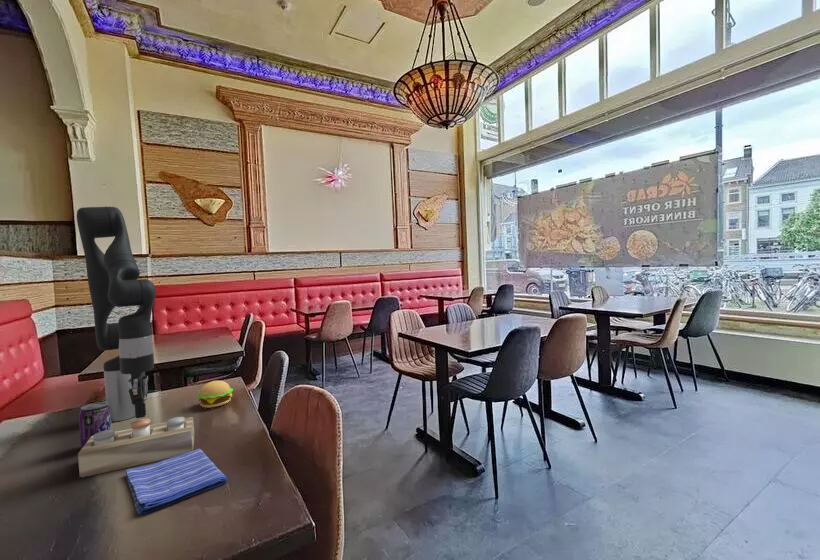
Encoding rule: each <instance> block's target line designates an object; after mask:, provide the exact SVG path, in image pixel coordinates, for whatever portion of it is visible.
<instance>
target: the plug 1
mask: <svg viewBox="0 0 820 560" xmlns="http://www.w3.org/2000/svg"><path fill="white" fill-rule="evenodd" d="M115 432H116V431H115V429H112V430H105V431H101V432H98V433H96V434H94V435H93V439H94V440H95V446H96V445H101V444H106V443H111V442H114V435H115Z"/></svg>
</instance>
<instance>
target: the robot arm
mask: <svg viewBox="0 0 820 560" xmlns="http://www.w3.org/2000/svg"><path fill="white" fill-rule="evenodd" d="M125 221H126V220H125V218H124V215H123V213H122V212H121V210H120V209H119V208H118V207H115V206H89V207H87V206H86V207H80V208H78V209H77V211H76V223H77V228H78V231H79V236H80V241H81V245H82V250H83V253H84V258H85V266H86V274H87V284H88V290H89V294H90V300H91V304H92V309H93V310H92V311H93V318H94V330H95V331H94V332H95V334H94V335H95V342H96V345H97V348H98V349H99V350H100V351H114V350H118V355H117V356H116V357H114V358H113V357H112V358H111V359H108V360H106V361H105V362H104V363H103V367H102V368H103V379H104V380H103V381H104V392H105V402H108V406H109V407H110V412H111V422H119V421H125V420H129V419H133V418H135V419H143V418H146V415H147V409H146V407H147V406H146V405H147V404H146V402H147V397H148V391H149V389H148V388H149V387H148V381H149V375H146V372H149V371H152V370H153V369H154V368H155V360H154V358H155V357H154V345H153V339H152V330H151V329H152V327H151V319H152V318H151V317H152V311H153V306H154V302H155V299H156V294H157V287H156V286H155V284H154V283H153V282H152V280H149V279H146V278H145V279H143V278H140V274H141V271H140V269H139V266H138V263H137V262H136V261H137V260H136V259H135V258H134V255H133V252H132V247H131V243H130V237H129V233H128V230H127V225H126V222H125ZM99 238H101V239H102V238H114V239H113V240H112V242H111V243H110V245H108V247H107V249H106V250H105V253H104V252H103V250H102V249H100V247H99V246H98V244H97V243H96V240H95V239H99ZM139 278H140V279H139ZM133 306H134V307H136V306H138V309H137V310H136V311H135V312H133V313H131V314H127V315H124V316H121V317H120V318H118V322H109V323H108V319H109V316H110V315H111V313H112V312H113V311H114V309H115V308H116V307H117V308H123V307H124V308H125V307H133Z"/></svg>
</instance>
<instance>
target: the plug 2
mask: <svg viewBox="0 0 820 560" xmlns="http://www.w3.org/2000/svg"><path fill="white" fill-rule="evenodd" d="M185 418H186V417H184V416H176V417H173V418H170V419H167V420H166V421H165V422H166V426H168V431H171V430H176V429H181V428H184V422H185Z"/></svg>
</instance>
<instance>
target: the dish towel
mask: <svg viewBox="0 0 820 560" xmlns="http://www.w3.org/2000/svg"><path fill="white" fill-rule="evenodd" d="M125 476H126V477H125V478H126V480H127V484H128V487H129V489H130V492H131V495H132V498H133V497H134V498H133V502H134V501H135V502H134V506H135V508H136V512H137V514H138V516H140V515H141V516H143V515H146V514H149V513H151V511H152V512H154V510H155V511H157V510H159V509H162V507H163V508H165V507H167V506H171V505H173V504H176V503H179V502H180V501H183V500H186V499H190V498H191V497H193V496H196V495H199V494H202V493H205V492H207V491H210V490H212V489H214V488H217V487H220V486H224V485H225V484H226V483H227V482H228V478H227V476H226V475H225V474H224V473H223V471H221V470H220V469H219V468H218V467H217V466H216V464H215V463H214V462H213V461H212V460H211V459H210V457H208V456H207V454H205V452H204V451H203V450H202V449H201V448H196V449H193V451H190V452H187V453H184V454H181V455H178V456H175V457H171V458H167V459H162V460H159V461H158V462H157V461H156V462H155V463H154V462H153V463H152V464H147V465H141V466H136V467H134V468H132V467H131V468H128V469H125ZM156 509H157V510H156Z"/></svg>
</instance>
